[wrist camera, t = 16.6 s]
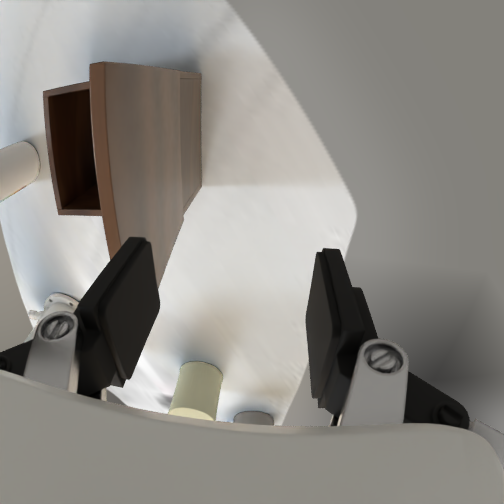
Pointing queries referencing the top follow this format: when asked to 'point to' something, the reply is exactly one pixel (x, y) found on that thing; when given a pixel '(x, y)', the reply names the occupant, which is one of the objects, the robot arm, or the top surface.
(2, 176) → the milk bottle
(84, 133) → the bin
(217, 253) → the top surface
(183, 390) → the can
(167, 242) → the bin lid
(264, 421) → the coffee mug
